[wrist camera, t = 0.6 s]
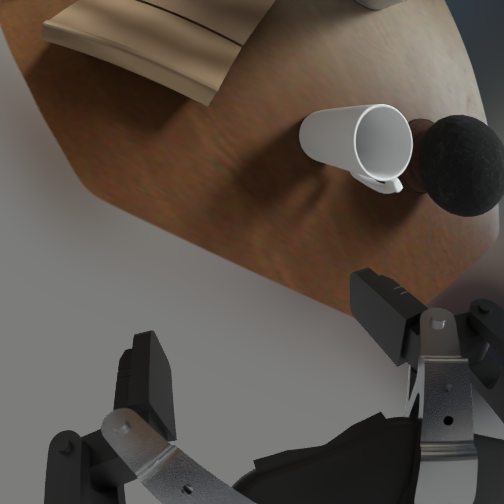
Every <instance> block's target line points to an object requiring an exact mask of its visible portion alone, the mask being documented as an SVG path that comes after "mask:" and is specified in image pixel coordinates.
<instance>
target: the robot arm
mask: <svg viewBox="0 0 504 504" xmlns="http://www.w3.org/2000/svg"><path fill="white" fill-rule="evenodd" d="M355 1H356V2H358V3H359V4H361V5H363V6H365V7H367V8H370V9H376V10H380V9H384V8H387V7H389V6H392V5H395V4H397V3H400V2H403V1H406V0H355ZM350 307H351V311H352V313H353V315H354V317H355V318H356V319H357V321H358V322H359V323H360V324H361V325H362V326H363V327H364V329H365V330H366V331H367V332H368V333H369V334H370V335H371V337H373V339H374V340H375V341H376V342H377V343H378V345H379V346H380V347H381V348H382V349H383V350H384V351H385V353H386V354H387V355H388V356H389V357H390V358H391V360H392V361H393V362H394V363H395V364H396V366H397V367H398V366H400V365H402V364H404V363H405V362H408V363H409V364H410V367H409V373H408V389H407V400H406V408H405V413H404V417H394V418H388V419H386V418H385V417H384V415H383V414H382V413H381V412H380V413H377V414H375V415H373V416H371V417H369V418H367V419H365V420H363V421H361V422H358V423H356V424H354V425H352V426H351V427H349V428H348V429H347V430H345V431H344V432H343V433H341V434H340V435H338V436H337V437H336V438H334V439H333V440H331V441H330V442H328V443H327V444H325V445H323V446H318V447H311V448H304V449H296V450H287V451H284V452H281V453H277V454H274V455H271V456H268V457H264V458H260V459H257V460H254V464H255V467H256V468H255V469H254V470H252V471H250V472H248V473H247V474H245V475H244V476H243V477H241V478H240V479H239V480H238V481H237V482H236V483H235V484H234V485H233V486H232V487H230V486H229V485H227V484H226V483H224V482H223V481H221V480H220V479H218V478H217V477H216V476H214V475H213V474H211V473H210V472H209V471H207V470H206V469H205V468H203V467H202V466H201V465H199V464H198V463H197V462H195V461H194V460H193V459H192V458H190V457H189V456H188V455H187V454H185V453H184V452H183V451H182V450H180V449H179V448H178V447H176V446H175V445H174V446H172V445H171V444H170V443H169V441H175V440H177V439H176V429H175V419H174V406H173V393H172V377H171V369H170V365H169V362H168V359H167V357H166V355H165V353H164V351H163V349H162V347H161V345H160V343H159V341H158V338H157V336H156V334H155V332H154V331H147V332H143V333H139V334H135V335H134V339H133V347H132V349H128V350H125V352H124V354H123V355H122V357H121V358H120V361H119V367H118V371H119V372H118V375H117V382H116V391H115V400H114V410H113V411H112V412H111V413H109V414H108V415H107V416H106V417H105V418H104V420H103V422H102V425H101V429H100V430H97V431H95V432H93V433H90V434H88V435H86V436H83V437H80V436H79V435H78V434H77V433H76V432H74V431H70V430H66V431H62V432H60V433H58V434H57V435H56V436H55V437H54V438H53V439H52V441H51V443H50V446H49V451H48V460H47V470H46V481H45V497H44V498H45V499H44V504H126V503H125V492H124V484H125V483H128V482H130V481H133V480H135V479H138V480H139V481H140V482H141V483H142V484H143V485H144V486H145V487H146V488H147V489H148V490H149V491H150V492H151V493H152V494H153V495H154V496H155V497H156V498H157V499H158V500H159V501H160V502H161V503H162V504H504V440H502V439H496V438H492V437H487V436H482V435H478V434H474V433H473V406H472V392H471V383H472V385H473V386H474V387H475V389H476V390H477V391H478V392H479V393H480V394H481V395H482V397H483V398H484V399H485V400H486V402H487V403H488V404H489V405H490V406H491V408H492V409H493V410H494V411H495V413H496V414H497V415H498V416H499V418H500V419H501V420H502V422H503V423H504V368H503V367H502V366H501V365H500V364H499V363H498V362H497V361H496V360H495V359H494V358H493V357H492V356H491V355H490V354H489V353H488V352H487V349H488V347H489V345H491V346H492V347H493V348H494V349H495V350H496V351H497V352H498V353H499V354H500V355H501V356H502V358H503V360H504V310H503V309H502V308H501V307H500V306H498V305H497V304H496V303H494V302H493V301H491V300H488V299H476V300H474V301H472V303H471V304H470V308H469V311H468V312H467V313H462V314H458V315H452V314H451V313H450V312H449V311H447V310H444V309H441V308H431V309H428V308H427V307H426V306H425V305H424V304H422V303H421V302H420V301H419V300H418V299H416V298H415V297H414V296H413V295H411V294H410V293H409V292H407V290H405V289H404V288H403V287H401V286H400V285H399V284H398V283H397V282H395V281H394V280H393V279H391V278H388V277H385V276H383V275H381V276H378V275H377V274H376V273H375V272H374V271H372V270H371V269H370V268H365V269H362V270H359V271H356V272H353V273H351V274H350Z"/></svg>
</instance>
